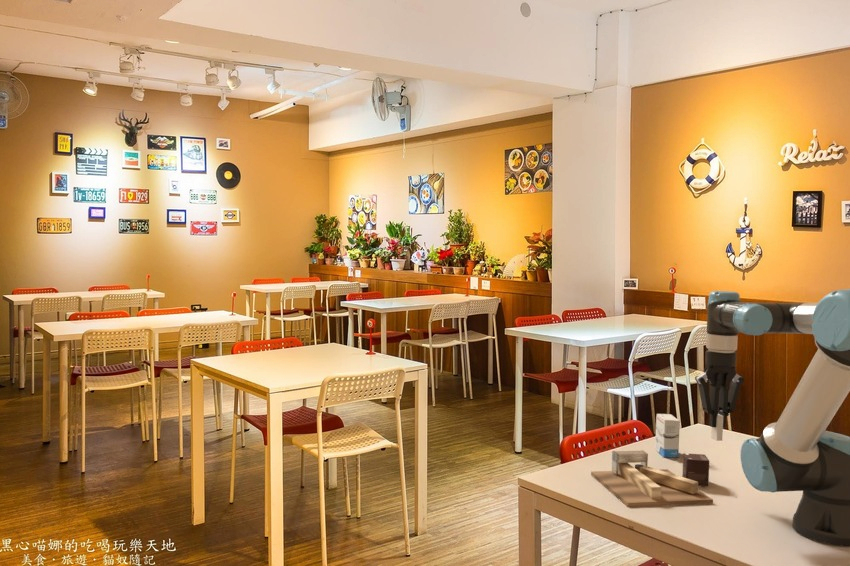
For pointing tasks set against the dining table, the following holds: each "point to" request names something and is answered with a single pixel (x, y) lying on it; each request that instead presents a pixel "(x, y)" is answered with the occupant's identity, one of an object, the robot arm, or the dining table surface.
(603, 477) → the walnut board
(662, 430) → the ink box
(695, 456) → the box
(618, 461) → the lock collar
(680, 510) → the dining table surface
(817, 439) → the robot arm
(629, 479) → the fixed tong arm
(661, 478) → the bar
